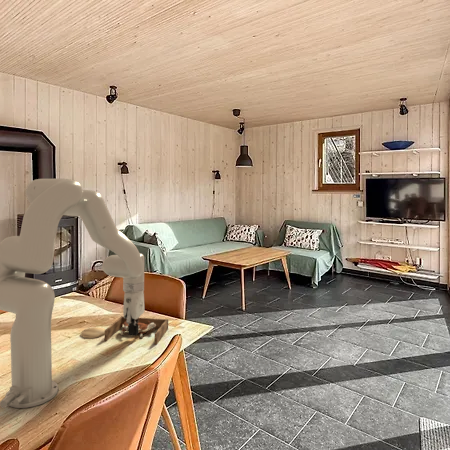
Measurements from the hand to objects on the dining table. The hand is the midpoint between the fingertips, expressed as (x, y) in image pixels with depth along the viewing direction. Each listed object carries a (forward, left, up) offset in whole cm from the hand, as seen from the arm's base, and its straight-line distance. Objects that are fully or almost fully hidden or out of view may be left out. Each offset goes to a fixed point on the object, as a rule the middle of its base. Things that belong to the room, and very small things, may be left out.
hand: (133, 334), depth 135 cm
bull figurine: (+2, 0, 0) cm, 2 cm away
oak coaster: (+3, +17, -2) cm, 17 cm away
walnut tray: (+5, 0, -2) cm, 5 cm away
